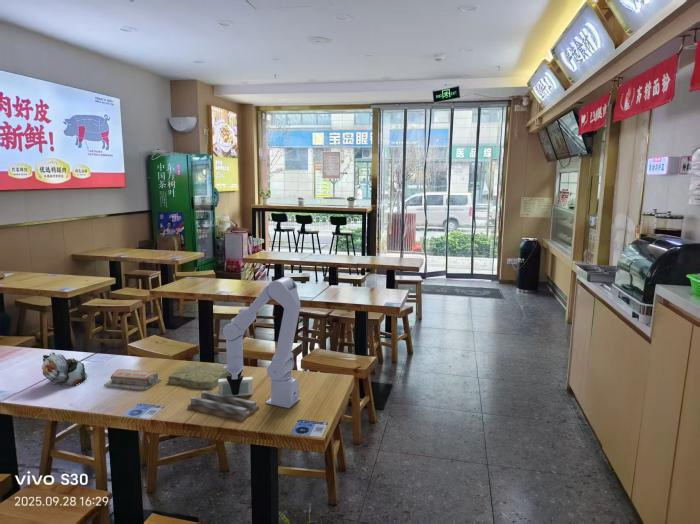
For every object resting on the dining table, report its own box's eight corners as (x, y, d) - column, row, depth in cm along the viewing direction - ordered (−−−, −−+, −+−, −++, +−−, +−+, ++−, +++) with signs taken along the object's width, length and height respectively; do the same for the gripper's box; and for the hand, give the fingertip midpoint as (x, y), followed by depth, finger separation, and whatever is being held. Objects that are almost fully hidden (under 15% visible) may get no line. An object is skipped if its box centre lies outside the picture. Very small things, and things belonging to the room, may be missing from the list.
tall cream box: (252, 392, 175) (252, 376, 174) (252, 395, 172) (252, 379, 171) (219, 394, 172) (218, 378, 172) (218, 397, 170) (218, 381, 169)
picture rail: (258, 408, 162) (258, 400, 161) (241, 421, 152) (241, 412, 152) (207, 396, 170) (206, 389, 170) (187, 408, 161) (187, 400, 160)
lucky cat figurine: (88, 384, 180) (68, 359, 172) (56, 400, 176) (34, 375, 168) (87, 361, 191) (68, 336, 184) (56, 376, 188) (35, 351, 180)
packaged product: (161, 369, 184) (145, 379, 174) (162, 381, 185) (146, 391, 175) (120, 365, 188) (102, 375, 178) (121, 377, 188) (103, 387, 179)
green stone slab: (190, 368, 198) (189, 360, 198) (234, 372, 194) (234, 364, 194) (164, 385, 180) (163, 377, 180) (212, 391, 176) (212, 382, 176)
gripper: (224, 348, 176) (225, 383, 178) (222, 362, 162) (223, 400, 164) (243, 347, 178) (244, 382, 180) (243, 361, 164) (244, 398, 166)
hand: (235, 390), depth 172 cm, fingers open, 6 cm apart
